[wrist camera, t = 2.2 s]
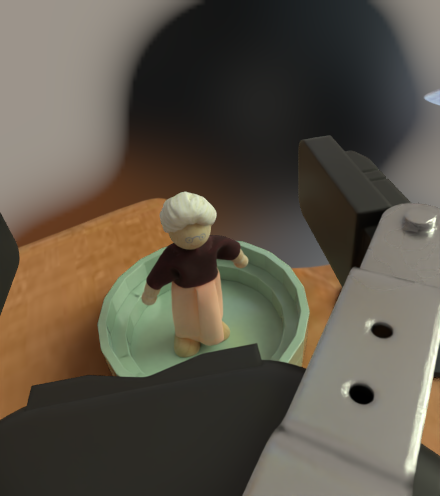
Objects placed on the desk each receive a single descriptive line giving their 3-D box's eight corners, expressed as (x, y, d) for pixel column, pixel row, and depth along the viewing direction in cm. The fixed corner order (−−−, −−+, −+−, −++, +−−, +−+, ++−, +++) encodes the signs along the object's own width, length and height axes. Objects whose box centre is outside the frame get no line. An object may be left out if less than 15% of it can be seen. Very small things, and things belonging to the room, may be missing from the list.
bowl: (91, 435, 27) (74, 407, 25) (127, 274, 38) (118, 244, 36) (322, 425, 26) (328, 395, 24) (290, 264, 38) (292, 233, 35)
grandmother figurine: (177, 378, 29) (141, 240, 21) (151, 343, 32) (109, 207, 23) (261, 323, 32) (259, 183, 24) (231, 295, 35) (220, 159, 27)
